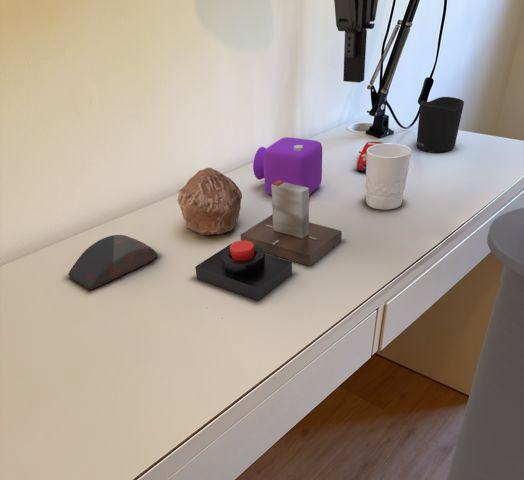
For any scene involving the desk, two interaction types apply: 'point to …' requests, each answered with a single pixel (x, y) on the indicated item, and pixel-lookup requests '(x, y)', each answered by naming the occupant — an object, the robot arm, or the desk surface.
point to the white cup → (386, 175)
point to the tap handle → (290, 209)
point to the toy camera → (290, 163)
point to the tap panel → (293, 241)
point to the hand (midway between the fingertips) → (353, 80)
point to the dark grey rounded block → (110, 260)
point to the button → (242, 250)
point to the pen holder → (439, 124)
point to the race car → (364, 156)
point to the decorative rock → (210, 202)
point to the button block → (245, 272)
